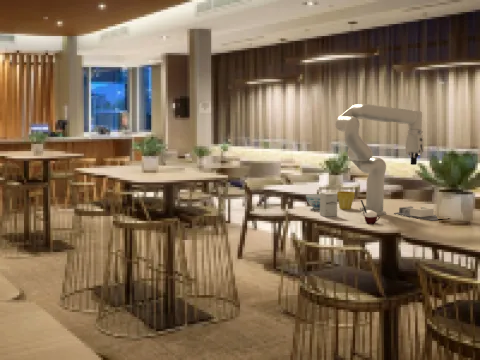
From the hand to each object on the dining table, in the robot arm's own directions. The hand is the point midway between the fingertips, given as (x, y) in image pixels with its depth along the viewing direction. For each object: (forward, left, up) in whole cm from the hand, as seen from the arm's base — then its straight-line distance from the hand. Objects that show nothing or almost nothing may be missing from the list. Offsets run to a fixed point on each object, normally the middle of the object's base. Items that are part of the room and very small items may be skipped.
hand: (413, 164), depth 347 cm
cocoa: (-50, -17, -27) cm, 59 cm away
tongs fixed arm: (-10, -11, -27) cm, 30 cm away
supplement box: (-52, +13, -27) cm, 60 cm away
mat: (-10, -15, -27) cm, 33 cm away
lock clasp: (-12, -17, -26) cm, 34 cm away
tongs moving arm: (-12, -12, -27) cm, 32 cm away
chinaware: (-40, +36, -27) cm, 60 cm away
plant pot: (-26, +28, -27) cm, 47 cm away
